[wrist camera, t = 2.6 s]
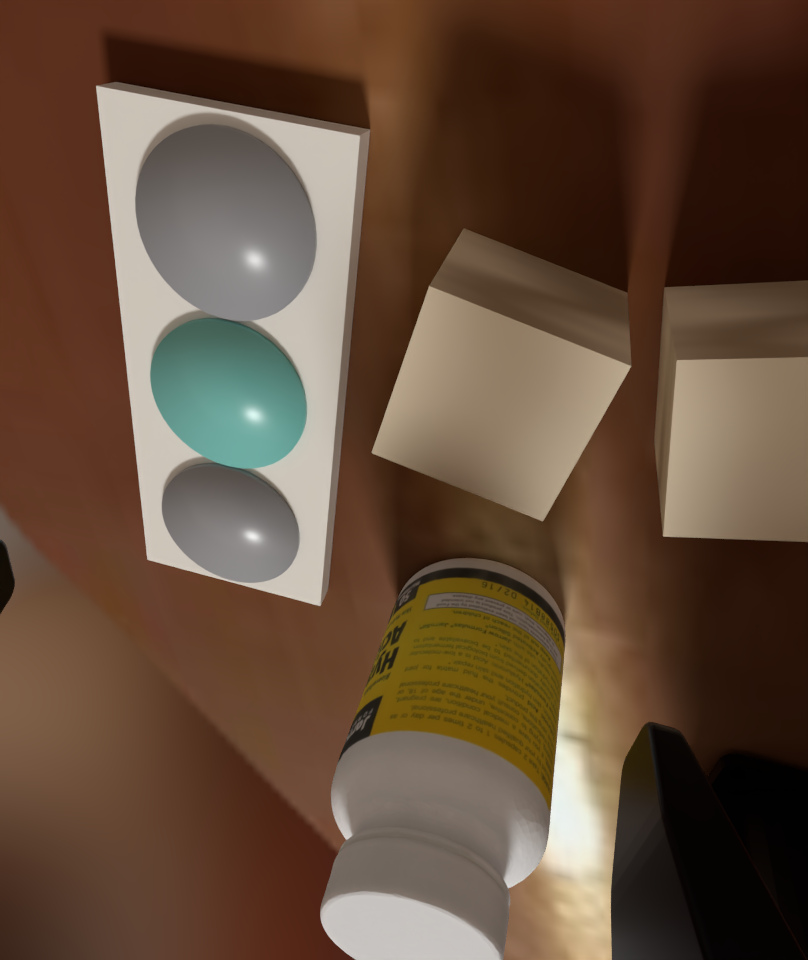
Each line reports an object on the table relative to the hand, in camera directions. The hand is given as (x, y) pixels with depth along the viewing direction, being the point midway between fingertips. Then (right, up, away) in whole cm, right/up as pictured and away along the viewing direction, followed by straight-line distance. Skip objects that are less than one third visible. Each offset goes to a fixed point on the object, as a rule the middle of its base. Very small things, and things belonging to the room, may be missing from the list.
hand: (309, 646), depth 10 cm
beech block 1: (+4, +6, +8) cm, 11 cm away
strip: (-3, +5, +10) cm, 12 cm away
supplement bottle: (+4, -2, +13) cm, 14 cm away
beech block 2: (+9, +5, +7) cm, 13 cm away
